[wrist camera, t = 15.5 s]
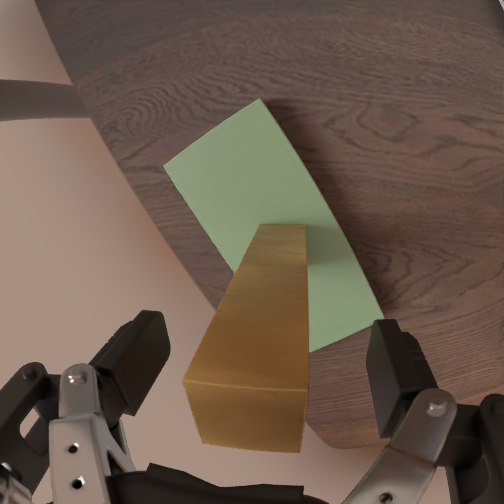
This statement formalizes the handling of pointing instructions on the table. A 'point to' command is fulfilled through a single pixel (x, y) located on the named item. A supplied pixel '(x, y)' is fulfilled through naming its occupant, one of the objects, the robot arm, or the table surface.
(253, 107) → the green rectangular block
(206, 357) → the stick
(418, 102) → the table surface
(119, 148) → the table surface
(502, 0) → the ceramic plate
